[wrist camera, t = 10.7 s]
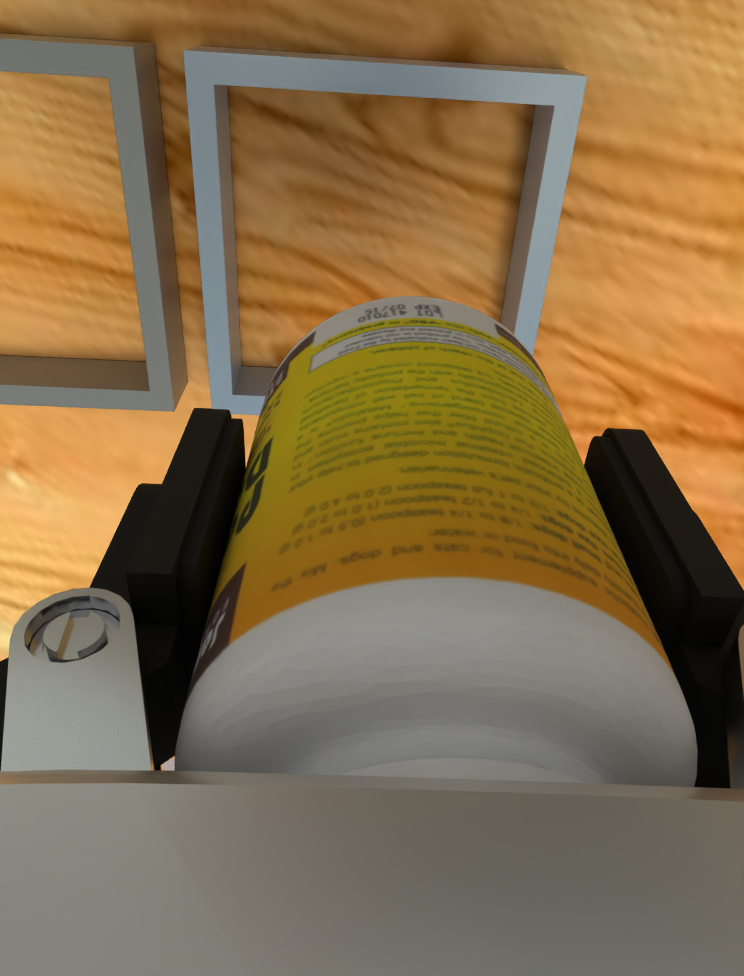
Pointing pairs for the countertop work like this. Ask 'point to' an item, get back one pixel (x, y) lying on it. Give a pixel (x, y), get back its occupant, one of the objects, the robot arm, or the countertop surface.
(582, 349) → the countertop surface
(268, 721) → the supplement bottle
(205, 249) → the blue-grey square frame
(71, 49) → the grey open square frame
